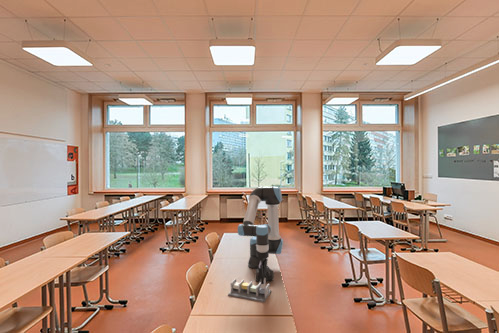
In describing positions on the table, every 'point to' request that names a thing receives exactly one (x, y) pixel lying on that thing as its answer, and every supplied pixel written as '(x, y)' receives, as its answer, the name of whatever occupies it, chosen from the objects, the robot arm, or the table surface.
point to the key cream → (236, 285)
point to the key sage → (253, 288)
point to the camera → (269, 275)
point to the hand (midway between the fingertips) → (263, 288)
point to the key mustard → (244, 285)
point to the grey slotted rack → (249, 292)
